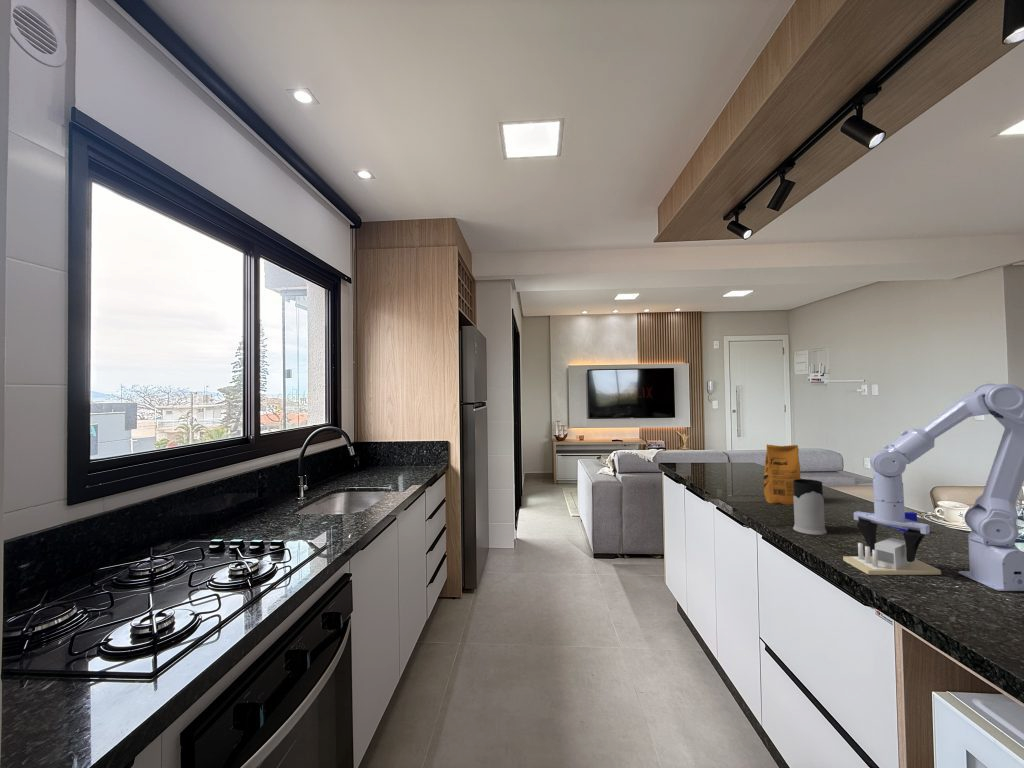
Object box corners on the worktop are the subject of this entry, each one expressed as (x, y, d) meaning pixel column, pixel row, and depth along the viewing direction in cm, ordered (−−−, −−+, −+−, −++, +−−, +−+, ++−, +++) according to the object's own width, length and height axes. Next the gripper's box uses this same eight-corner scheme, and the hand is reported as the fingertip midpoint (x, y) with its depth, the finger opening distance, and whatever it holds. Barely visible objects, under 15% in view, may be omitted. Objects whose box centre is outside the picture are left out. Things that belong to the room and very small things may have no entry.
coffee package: (763, 497, 180) (760, 442, 181) (799, 500, 175) (797, 443, 175) (765, 503, 171) (762, 445, 172) (803, 506, 166) (801, 446, 166)
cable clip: (875, 521, 146) (874, 503, 146) (891, 522, 145) (890, 503, 145) (900, 533, 134) (899, 513, 134) (917, 534, 133) (916, 513, 133)
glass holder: (799, 534, 136) (797, 484, 136) (782, 520, 150) (780, 475, 150) (832, 535, 134) (830, 484, 134) (812, 521, 148) (810, 475, 148)
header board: (941, 574, 105) (940, 553, 105) (868, 574, 106) (867, 553, 106) (909, 560, 114) (909, 540, 114) (843, 560, 115) (842, 540, 115)
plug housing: (922, 557, 113) (921, 537, 113) (895, 569, 106) (894, 548, 106) (902, 552, 116) (901, 533, 116) (875, 564, 109) (874, 543, 110)
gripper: (934, 503, 106) (937, 561, 106) (862, 492, 118) (864, 544, 118) (920, 508, 102) (923, 568, 102) (848, 496, 115) (850, 549, 115)
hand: (891, 556), depth 110 cm, fingers open, 7 cm apart
